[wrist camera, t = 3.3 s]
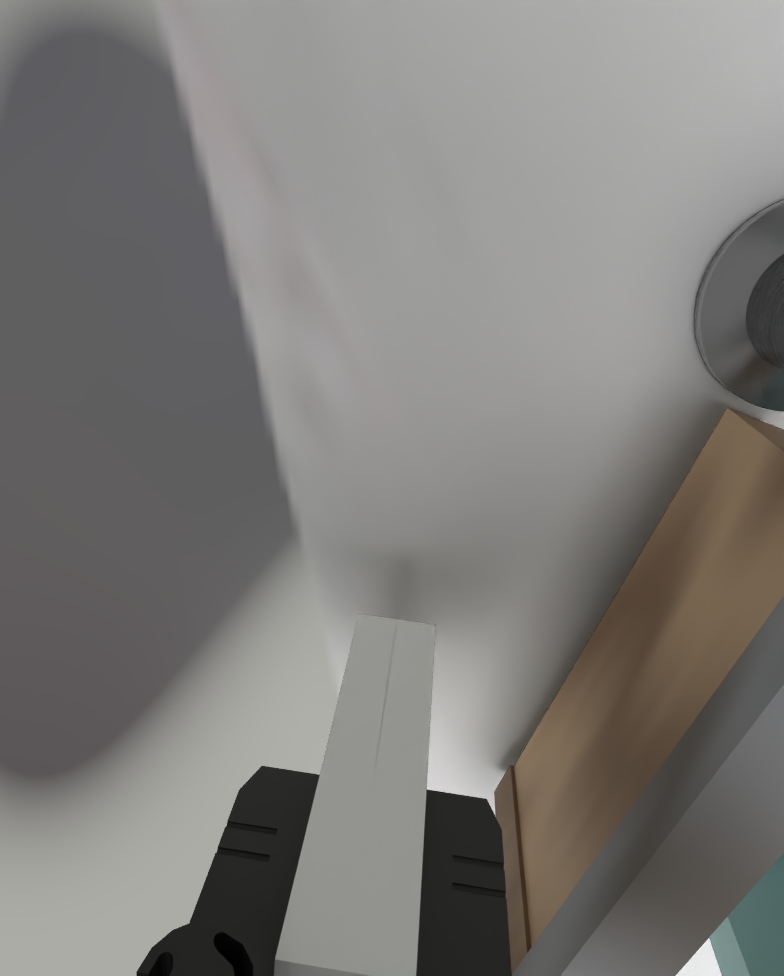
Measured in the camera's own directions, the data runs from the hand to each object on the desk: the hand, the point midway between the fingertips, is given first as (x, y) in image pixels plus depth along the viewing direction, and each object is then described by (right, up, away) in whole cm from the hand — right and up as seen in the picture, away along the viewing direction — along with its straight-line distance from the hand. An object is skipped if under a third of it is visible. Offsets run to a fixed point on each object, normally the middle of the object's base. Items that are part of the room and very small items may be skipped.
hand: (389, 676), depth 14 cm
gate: (+5, 0, +2) cm, 6 cm away
